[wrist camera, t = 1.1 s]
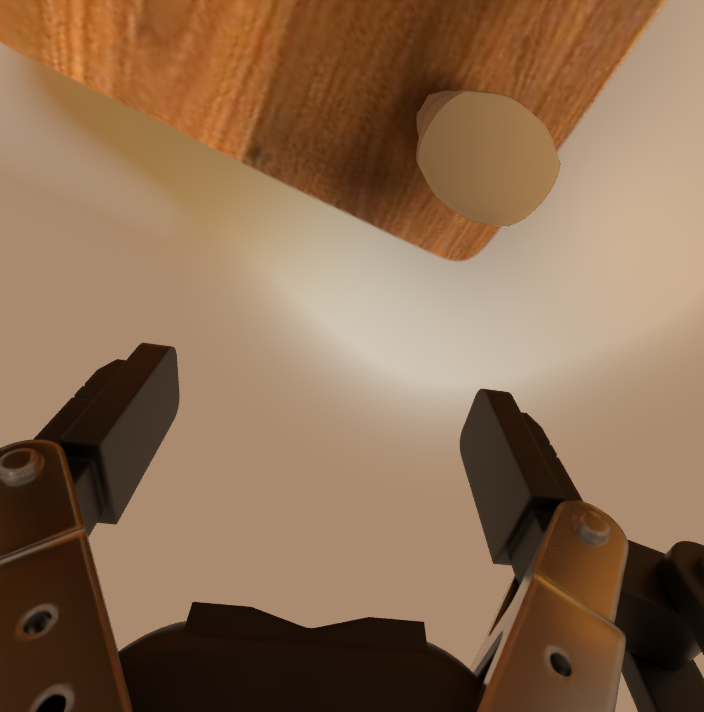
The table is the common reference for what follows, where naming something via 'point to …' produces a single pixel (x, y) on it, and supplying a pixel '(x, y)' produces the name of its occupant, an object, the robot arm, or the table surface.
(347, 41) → the table surface
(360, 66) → the table surface
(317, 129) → the table surface
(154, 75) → the table surface
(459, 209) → the handle
